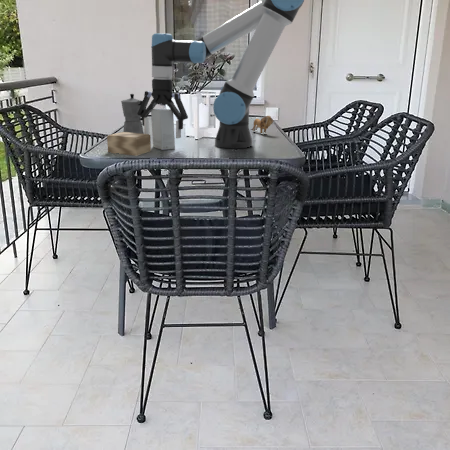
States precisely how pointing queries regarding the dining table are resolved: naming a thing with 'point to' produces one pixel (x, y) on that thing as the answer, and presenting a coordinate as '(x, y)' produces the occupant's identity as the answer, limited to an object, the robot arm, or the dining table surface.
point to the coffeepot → (132, 115)
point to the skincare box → (163, 128)
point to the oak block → (129, 143)
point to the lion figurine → (262, 123)
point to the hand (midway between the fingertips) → (162, 136)
